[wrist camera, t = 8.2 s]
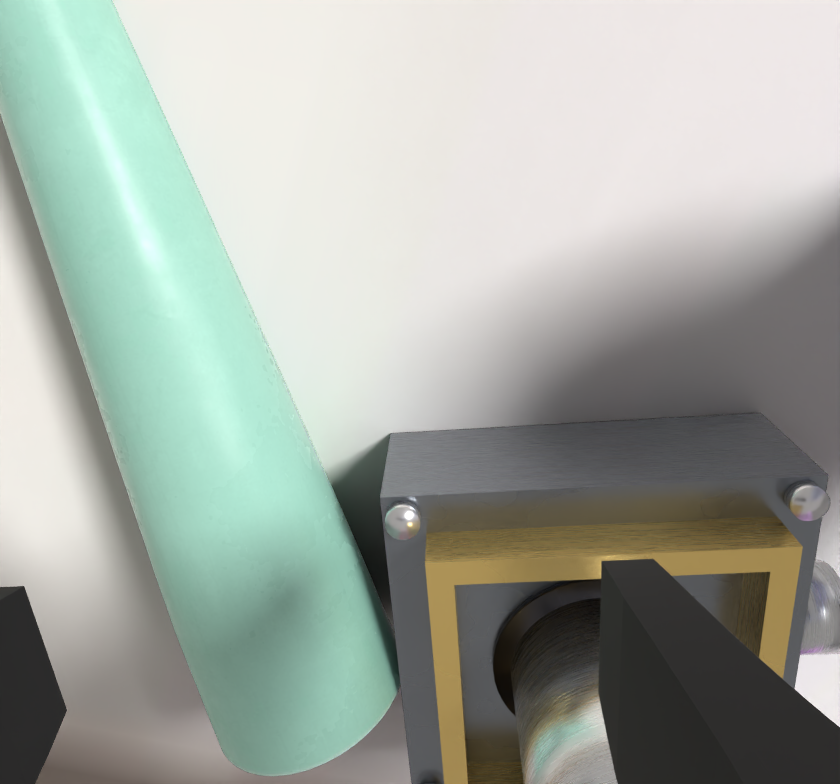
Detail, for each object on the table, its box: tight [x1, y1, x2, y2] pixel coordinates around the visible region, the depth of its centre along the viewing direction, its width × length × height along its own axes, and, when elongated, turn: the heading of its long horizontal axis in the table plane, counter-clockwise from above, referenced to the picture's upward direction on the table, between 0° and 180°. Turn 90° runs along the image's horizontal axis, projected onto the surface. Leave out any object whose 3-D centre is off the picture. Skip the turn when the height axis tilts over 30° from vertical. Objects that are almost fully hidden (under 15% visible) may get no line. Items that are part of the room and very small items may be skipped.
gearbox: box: [380, 413, 840, 784], centre depth 18 cm, size 12×10×5 cm
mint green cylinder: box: [0, 0, 400, 776], centre depth 15 cm, size 5×6×27 cm
